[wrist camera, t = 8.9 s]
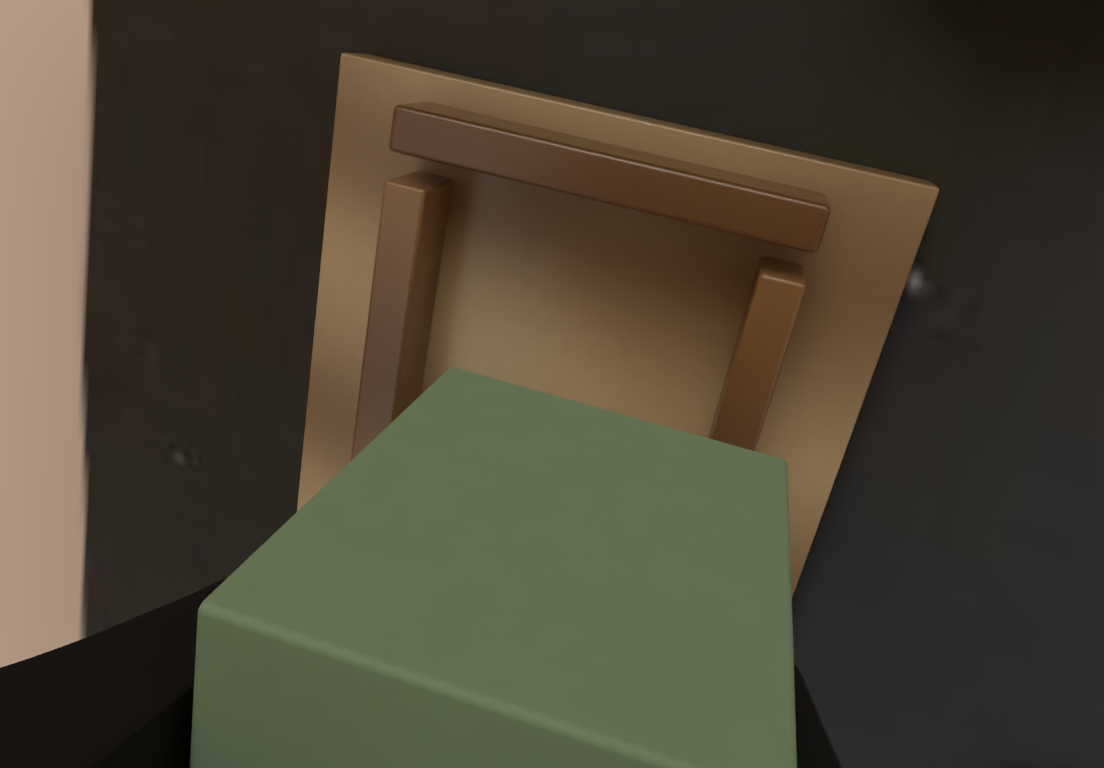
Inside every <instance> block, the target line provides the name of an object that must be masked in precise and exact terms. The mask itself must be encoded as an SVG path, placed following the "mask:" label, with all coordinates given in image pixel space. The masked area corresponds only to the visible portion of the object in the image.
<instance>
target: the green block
mask: <svg viewBox="0 0 1104 768" xmlns="http://www.w3.org/2000/svg"><path fill="white" fill-rule="evenodd" d="M190 768H797V748H796V717H795V685H794V653H793V621H792V589H791V557H790V526H789V494H788V465H787V461H785V460H784V459H781V458H777V457H774V456H770V455H767V454H763V453H759V452H756V451H752V450H749V449H745V448H741V447H738V446H734V445H731V444H727V443H723V442H720V441H716V440H713V439H709V438H706V437H702V436H698V435H695V434H691V433H688V432H684V431H680V430H677V429H673V428H670V427H666V426H662V425H659V424H655V423H652V422H648V421H644V420H641V419H637V418H634V417H630V416H627V415H623V414H619V413H616V412H612V411H609V410H605V409H601V408H598V407H594V406H591V405H587V404H583V403H580V402H576V401H573V400H569V399H565V398H562V397H558V396H555V395H551V394H548V393H544V392H540V391H537V390H533V389H530V388H526V387H522V386H519V385H515V384H512V383H508V382H504V381H501V380H497V379H494V378H490V377H487V376H483V375H479V374H476V373H472V372H469V371H465V370H461V369H458V368H454V367H453V368H449V369H448V370H447V371H445V372H444V373H443V374H442V375H441V376H440V377H439V378H438V379H437V380H436V381H435V382H434V383H433V384H432V385H431V386H430V387H429V388H428V389H426V390H425V391H424V392H423V393H422V394H421V395H420V396H419V397H418V398H417V399H416V400H415V401H414V402H413V403H412V404H411V405H410V406H409V407H407V408H406V409H405V410H404V411H403V412H402V413H401V414H400V415H399V416H398V417H397V418H396V419H395V420H394V421H393V422H392V423H391V424H390V425H388V426H387V427H386V428H385V429H384V430H383V431H382V432H381V433H380V434H379V435H378V436H377V437H376V438H375V439H374V440H373V441H372V442H371V443H369V444H368V445H367V446H366V447H365V448H364V449H363V450H362V451H361V452H360V453H359V454H358V455H357V456H356V457H355V458H354V459H353V460H351V461H350V462H349V463H348V464H347V465H346V466H345V467H344V468H343V469H342V470H341V471H340V472H339V473H338V474H337V475H336V476H335V477H334V478H332V479H331V480H330V481H329V482H328V483H327V484H326V485H325V486H324V487H323V488H322V489H321V490H320V491H319V492H318V493H317V494H316V495H315V496H313V497H312V498H311V499H310V500H309V501H308V502H307V503H306V504H305V505H304V506H303V507H302V508H301V509H300V510H299V511H298V512H297V513H296V514H294V515H293V516H292V517H291V518H290V519H289V520H288V521H287V522H286V523H285V524H284V525H283V526H282V527H281V528H280V529H279V530H278V531H277V532H275V533H274V534H273V535H272V536H271V537H270V538H269V539H268V540H267V541H266V542H265V543H264V544H263V545H262V546H261V547H260V548H259V549H258V550H256V551H255V552H254V553H253V554H252V555H251V556H250V557H249V558H248V559H247V560H246V561H245V562H244V563H243V564H242V565H241V566H240V567H239V568H237V569H236V570H235V571H234V572H233V573H232V574H231V575H230V576H229V577H228V578H227V579H226V580H225V581H224V582H223V583H222V584H221V585H219V586H218V587H217V588H216V589H215V590H214V591H213V592H212V593H211V594H210V595H209V596H208V597H207V598H206V599H205V600H204V601H203V602H202V603H201V605H200V607H199V610H198V617H197V637H196V656H195V676H194V695H193V715H192V734H191V753H190Z"/></svg>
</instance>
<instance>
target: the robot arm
mask: <svg viewBox="0 0 1104 768" xmlns="http://www.w3.org/2000/svg"><path fill="white" fill-rule="evenodd" d="M227 578H228V577H227ZM227 578H225V579H223V580H221V581H218V582H216V583H214V584H212V585H210V586H208V587H206V588H203V589H201V590H199V591H197V592H195V593H193V594H191V595H188V596H186V597H184V598H182V599H179V600H177V601H174V602H172V603H169V604H167V605H165V606H162V607H160V608H157V609H155V610H153V611H150V612H148V613H145V614H143V615H140V616H138V617H136V618H133V619H131V620H128V621H126V622H124V623H121V624H119V625H116V626H114V627H111V628H109V629H107V630H104V631H102V632H99V633H97V634H94V635H92V636H90V637H87V638H84V639H82V640H79V641H76V642H74V643H71V644H69V645H66V646H63V647H60V648H57V649H55V650H52V651H49V652H47V653H43V654H41V655H38V656H35V657H32V658H29V659H26V660H23V661H20V662H17V663H14V664H11V665H8V666H5V667H1V668H0V768H190V753H191V734H192V715H193V695H194V676H195V656H196V637H197V617H198V610H199V607H200V605H201V603H202V602H203V601H204V600H205V599H206V598H207V597H208V596H209V595H210V594H211V593H212V592H213V591H214V590H215V589H216V588H217V587H218V586H219V585H221V584H222V583H223V582H224V581H225V580H226V579H227ZM794 685H795V717H796V748H797V768H842V766H841V764H840V762H839V760H838V757H837V755H836V753H835V751H834V748H833V746H832V744H831V742H830V740H829V737H828V735H827V733H826V730H825V728H824V726H823V723H822V721H821V719H820V716H819V714H818V712H817V709H816V707H815V705H814V702H813V700H812V697H811V695H810V693H809V690H808V688H807V685H806V683H805V681H804V678H803V677H802V675H801V673H800V671H799V669H798V668H797V666H794Z"/></svg>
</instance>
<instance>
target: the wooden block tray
mask: <svg viewBox="0 0 1104 768" xmlns="http://www.w3.org/2000/svg"><path fill="white" fill-rule="evenodd" d="M938 193H939V188H938V187H936V186H935V185H934V184H933V183H931V182H930V181H928V180H924V179H920V178H915V177H911V176H906V175H902V174H897V173H893V172H889V171H884V170H880V169H875V168H871V167H866V166H862V165H858V164H853V163H849V162H844V161H840V160H835V159H831V158H826V157H822V156H818V155H813V154H809V153H804V152H800V151H795V150H791V149H787V148H782V147H778V146H773V145H769V144H764V143H760V142H755V141H751V140H747V139H742V138H738V137H733V136H729V135H724V134H720V133H716V132H711V131H707V130H702V129H698V128H693V127H689V126H685V125H680V124H676V123H671V122H667V121H662V120H658V119H653V118H649V117H645V116H640V115H636V114H631V113H627V112H622V111H618V110H614V109H609V108H605V107H600V106H596V105H591V104H587V103H583V102H578V101H574V100H569V99H565V98H560V97H556V96H551V95H547V94H543V93H538V92H534V91H529V90H525V89H520V88H516V87H512V86H507V85H503V84H498V83H494V82H489V81H485V80H480V79H476V78H472V77H467V76H463V75H458V74H454V73H449V72H445V71H441V70H436V69H432V68H427V67H423V66H418V65H414V64H410V63H405V62H401V61H396V60H392V59H387V58H383V57H378V56H374V55H370V54H365V53H342V54H341V60H340V70H339V81H338V91H337V101H336V112H335V122H334V132H333V143H332V153H331V164H330V174H329V184H328V195H327V205H326V215H325V226H324V236H323V247H322V257H321V267H320V278H319V288H318V298H317V309H316V319H315V330H314V340H313V350H312V361H311V371H310V381H309V392H308V402H307V413H306V423H305V433H304V444H303V454H302V464H301V475H300V485H299V496H298V506H297V512H298V511H299V510H300V509H301V508H302V507H303V506H304V505H305V504H306V503H307V502H308V501H309V500H310V499H311V498H312V497H313V496H315V495H316V494H317V493H318V492H319V491H320V490H321V489H322V488H323V487H324V486H325V485H326V484H327V483H328V482H329V481H330V480H331V479H332V478H334V477H335V476H336V475H337V474H338V473H339V472H340V471H341V470H342V469H343V468H344V467H345V466H346V465H347V464H348V463H349V462H350V461H351V460H353V459H354V458H355V457H356V456H357V455H358V454H359V453H360V452H361V451H362V450H363V449H364V448H365V447H366V446H367V445H368V444H369V443H371V442H372V441H373V440H374V439H375V438H376V437H377V436H378V435H379V434H380V433H381V432H382V431H383V430H384V429H385V428H386V427H387V426H388V425H390V424H391V423H392V422H393V421H394V420H395V419H396V418H397V417H398V416H399V415H400V414H401V413H402V412H403V411H404V410H405V409H406V408H407V407H409V406H410V405H411V404H412V403H413V402H414V401H415V400H416V399H417V398H418V397H419V396H420V395H421V394H422V393H423V392H424V391H425V390H426V389H428V388H429V387H430V386H431V385H432V384H433V383H434V382H435V381H436V380H437V379H438V378H439V377H440V376H441V375H442V374H443V373H444V372H445V371H447V370H448V369H449V368H453V367H454V368H458V369H461V370H465V371H469V372H472V373H476V374H479V375H483V376H487V377H490V378H494V379H497V380H501V381H504V382H508V383H512V384H515V385H519V386H522V387H526V388H530V389H533V390H537V391H540V392H544V393H548V394H551V395H555V396H558V397H562V398H565V399H569V400H573V401H576V402H580V403H583V404H587V405H591V406H594V407H598V408H601V409H605V410H609V411H612V412H616V413H619V414H623V415H627V416H630V417H634V418H637V419H641V420H644V421H648V422H652V423H655V424H659V425H662V426H666V427H670V428H673V429H677V430H680V431H684V432H688V433H691V434H695V435H698V436H702V437H706V438H709V439H713V440H716V441H720V442H723V443H727V444H731V445H734V446H738V447H741V448H745V449H749V450H752V451H756V452H759V453H763V454H767V455H770V456H774V457H777V458H781V459H784V460H785V461H787V465H788V494H789V526H790V557H791V589H792V597H793V594H794V592H795V589H796V586H797V583H798V581H799V578H800V575H801V572H802V570H803V567H804V564H805V561H806V558H807V556H808V553H809V550H810V547H811V545H812V542H813V539H814V536H815V534H816V531H817V528H818V525H819V523H820V520H821V517H822V514H823V511H824V509H825V506H826V503H827V500H828V498H829V495H830V492H831V489H832V487H833V484H834V481H835V478H836V475H837V473H838V470H839V467H840V464H841V462H842V459H843V456H844V453H845V451H846V448H847V445H848V442H849V439H850V437H851V434H852V431H853V428H854V426H855V423H856V420H857V417H858V415H859V412H860V409H861V406H862V404H863V401H864V398H865V395H866V392H867V390H868V387H869V384H870V381H871V379H872V376H873V373H874V370H875V368H876V365H877V362H878V359H879V356H880V354H881V351H882V348H883V345H884V343H885V340H886V337H887V334H888V332H889V329H890V326H891V323H892V321H893V318H894V315H895V312H896V309H897V307H898V304H899V301H900V298H901V296H902V293H903V290H904V287H905V285H906V282H907V279H908V276H909V273H910V271H911V268H912V265H913V262H914V260H915V257H916V254H917V251H918V249H919V246H920V243H921V240H922V237H923V235H924V232H925V229H926V226H927V224H928V221H929V218H930V215H931V213H932V210H933V207H934V204H935V202H936V199H937V196H938Z"/></svg>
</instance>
